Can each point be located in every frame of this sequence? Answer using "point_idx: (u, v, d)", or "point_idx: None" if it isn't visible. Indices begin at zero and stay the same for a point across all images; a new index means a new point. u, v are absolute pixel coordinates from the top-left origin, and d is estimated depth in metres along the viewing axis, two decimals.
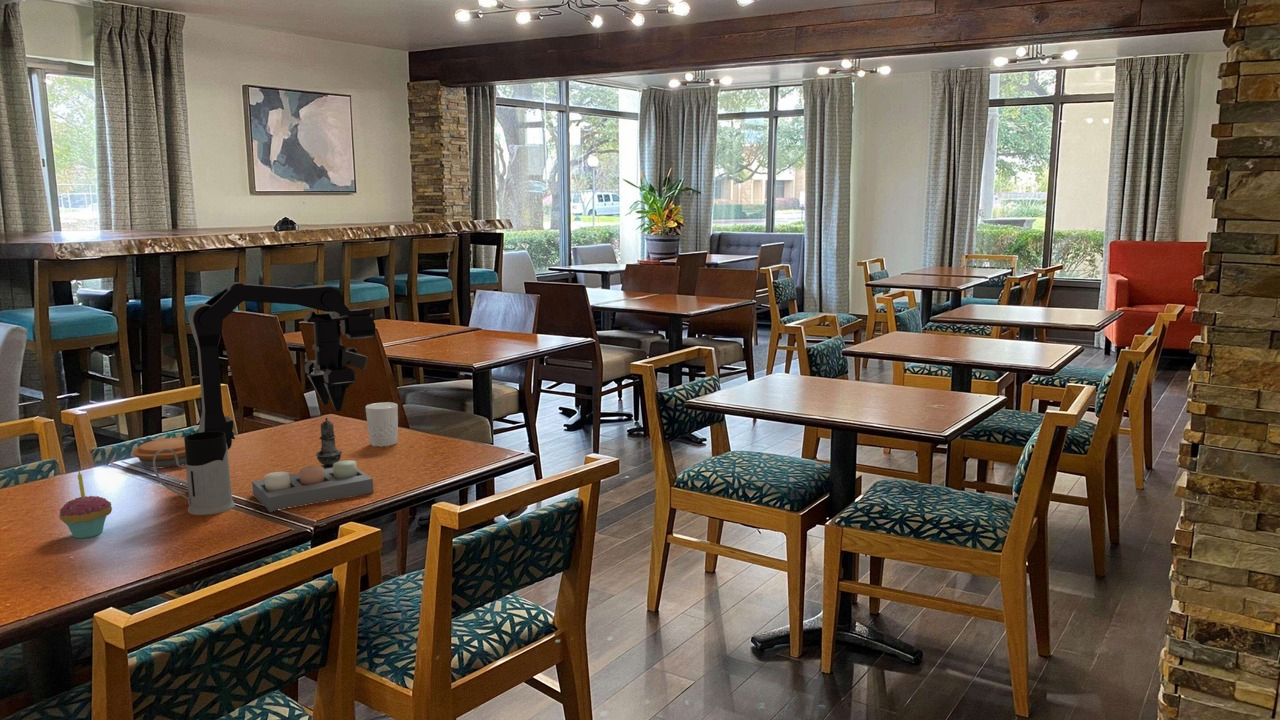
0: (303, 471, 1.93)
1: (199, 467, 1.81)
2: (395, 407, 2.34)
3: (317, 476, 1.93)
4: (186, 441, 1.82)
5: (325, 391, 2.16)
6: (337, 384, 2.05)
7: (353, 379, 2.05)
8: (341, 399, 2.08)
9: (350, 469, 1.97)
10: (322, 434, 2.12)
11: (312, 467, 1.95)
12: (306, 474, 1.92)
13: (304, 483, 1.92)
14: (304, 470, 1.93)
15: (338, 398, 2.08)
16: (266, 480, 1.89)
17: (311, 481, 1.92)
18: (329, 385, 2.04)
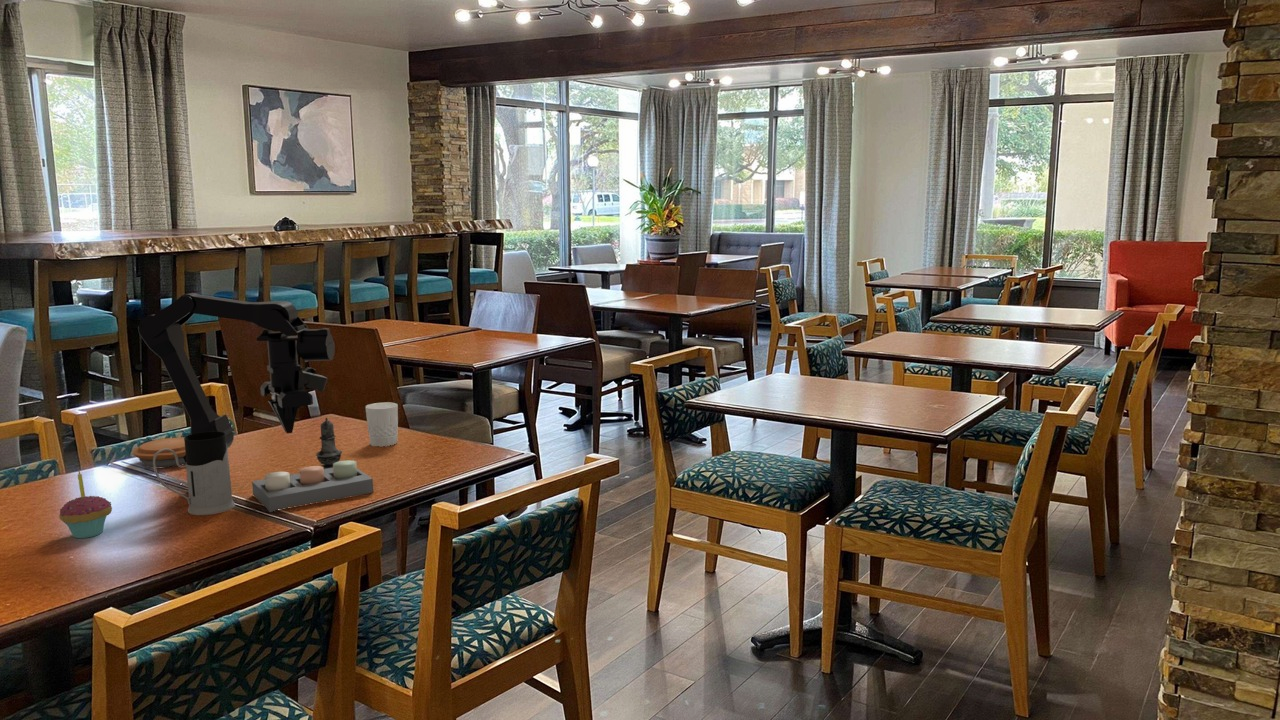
0: (303, 471, 1.93)
1: (199, 467, 1.81)
2: (395, 407, 2.34)
3: (317, 476, 1.93)
4: (186, 441, 1.82)
5: None
6: None
7: (309, 403, 1.91)
8: (292, 420, 1.97)
9: (350, 469, 1.97)
10: (322, 434, 2.12)
11: (312, 467, 1.95)
12: (306, 474, 1.92)
13: (304, 483, 1.92)
14: (304, 470, 1.93)
15: (289, 419, 1.97)
16: (266, 480, 1.89)
17: (311, 481, 1.92)
18: (278, 406, 1.93)
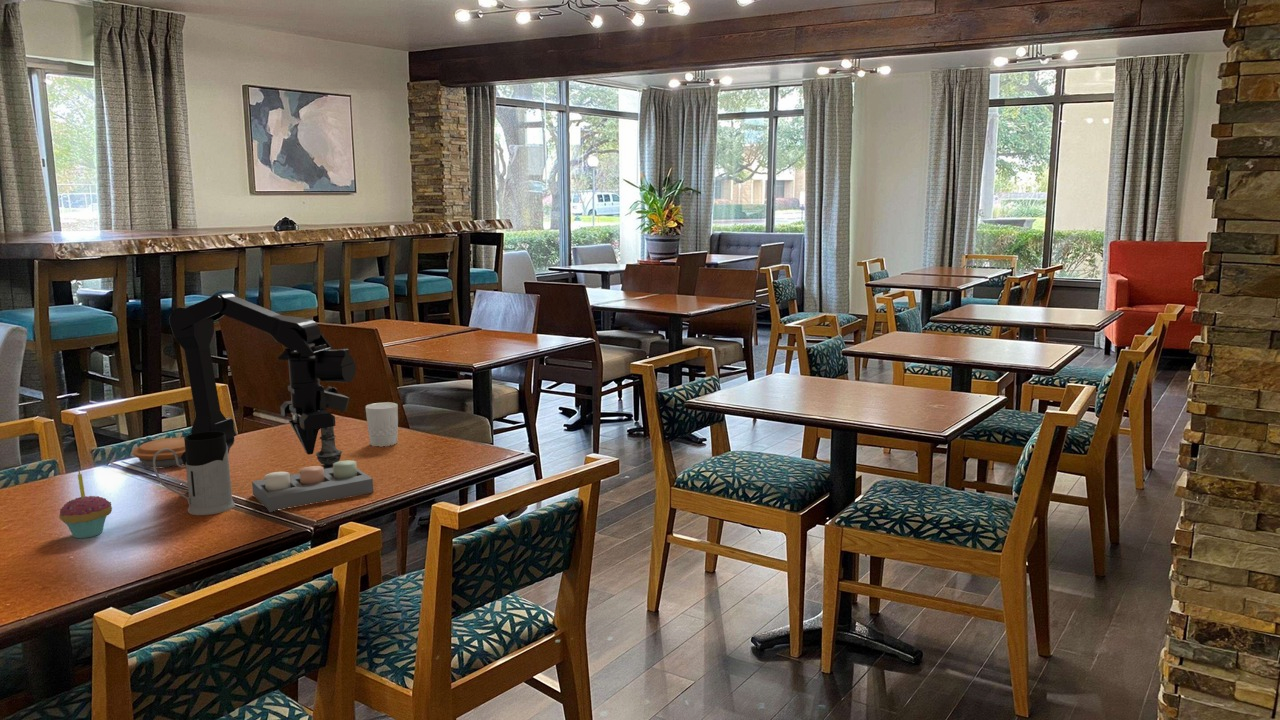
0: (303, 471, 1.93)
1: (199, 467, 1.81)
2: (395, 407, 2.34)
3: (317, 476, 1.93)
4: (186, 441, 1.82)
5: None
6: None
7: (332, 424, 1.86)
8: (313, 441, 1.93)
9: (350, 469, 1.97)
10: (322, 434, 2.12)
11: (312, 467, 1.95)
12: (306, 474, 1.92)
13: (304, 483, 1.92)
14: (304, 470, 1.93)
15: (310, 440, 1.92)
16: (266, 480, 1.89)
17: (311, 481, 1.92)
18: (299, 427, 1.88)
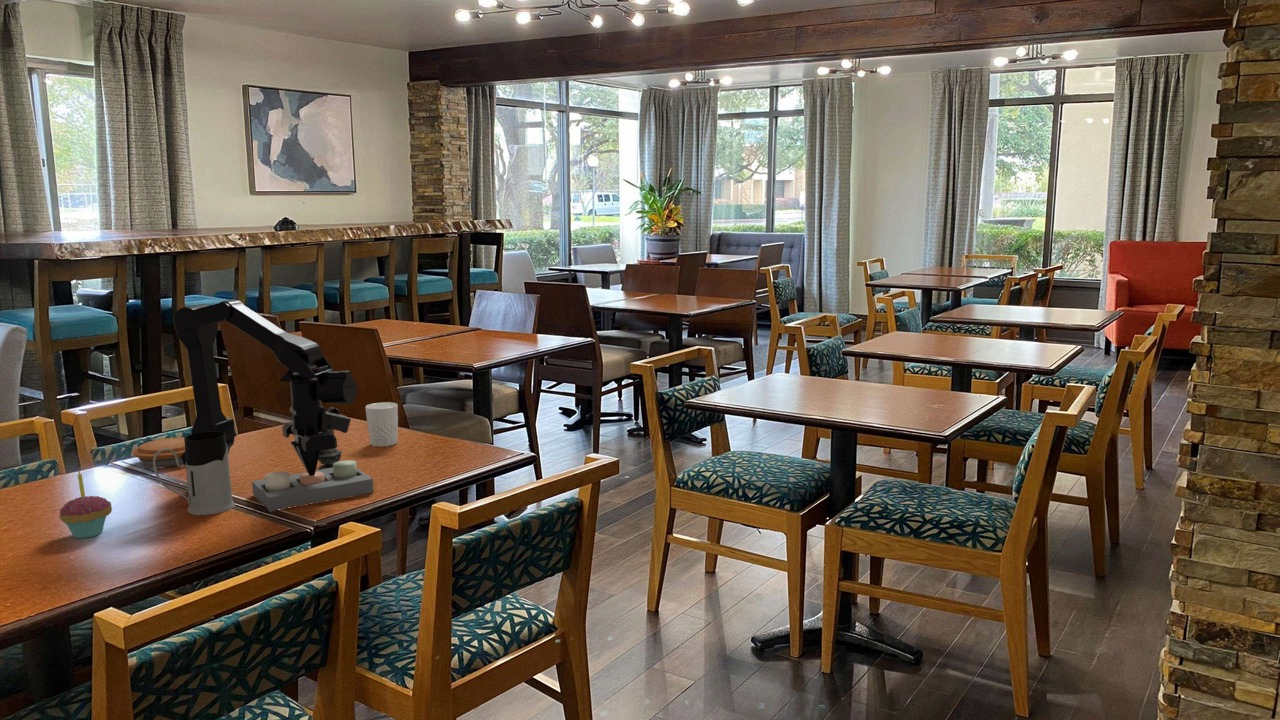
0: (304, 477, 1.93)
1: (199, 467, 1.81)
2: (395, 407, 2.34)
3: (318, 482, 1.93)
4: (186, 441, 1.82)
5: None
6: None
7: (334, 446, 1.87)
8: (314, 462, 1.94)
9: (350, 469, 1.97)
10: None
11: None
12: (306, 480, 1.92)
13: None
14: (304, 476, 1.93)
15: (312, 462, 1.93)
16: (266, 480, 1.89)
17: None
18: (301, 449, 1.89)
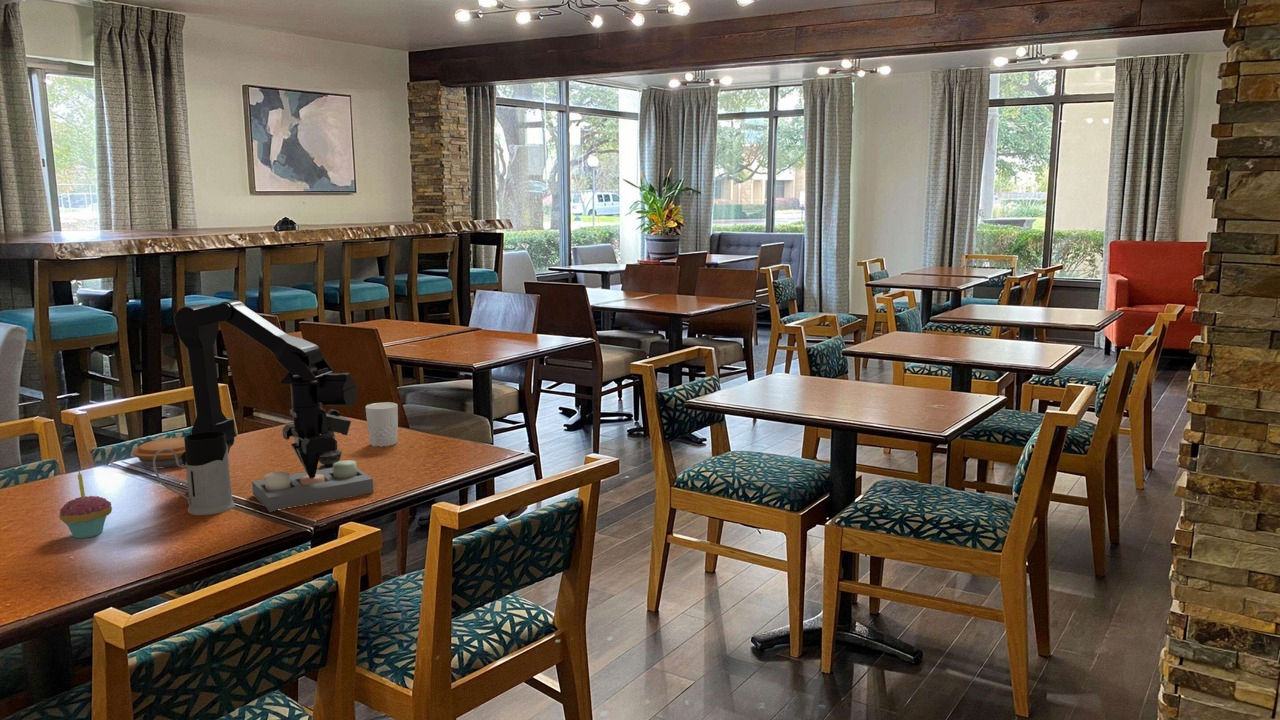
0: (304, 479, 1.93)
1: (199, 467, 1.81)
2: (395, 407, 2.34)
3: None
4: (186, 441, 1.82)
5: None
6: None
7: (334, 448, 1.87)
8: (315, 464, 1.94)
9: (350, 469, 1.97)
10: (322, 434, 2.12)
11: None
12: (306, 482, 1.92)
13: None
14: (305, 478, 1.94)
15: (312, 464, 1.93)
16: (266, 480, 1.89)
17: None
18: (301, 451, 1.89)
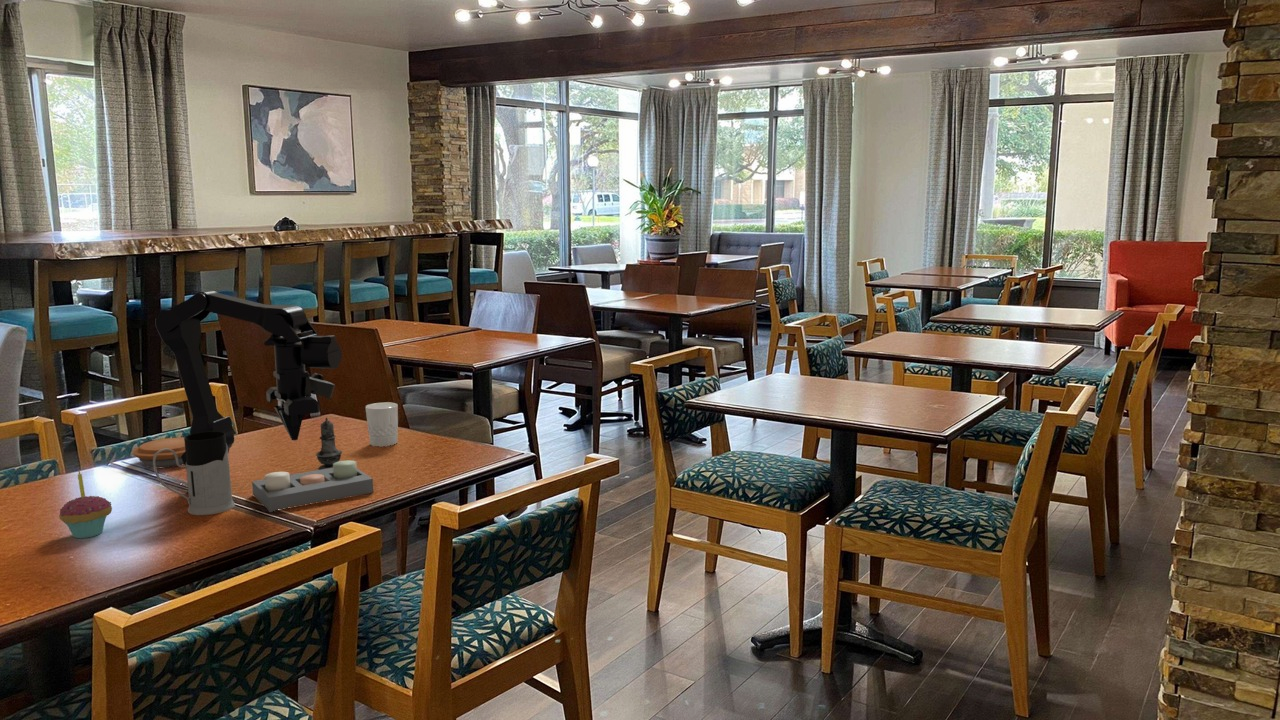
0: (304, 479, 1.93)
1: (199, 467, 1.81)
2: (395, 407, 2.34)
3: None
4: (186, 441, 1.82)
5: None
6: None
7: (316, 410, 1.87)
8: (297, 427, 1.94)
9: (350, 469, 1.97)
10: (322, 434, 2.12)
11: (313, 475, 1.96)
12: (306, 482, 1.92)
13: None
14: (305, 478, 1.94)
15: (295, 426, 1.93)
16: (266, 480, 1.89)
17: None
18: (284, 413, 1.89)
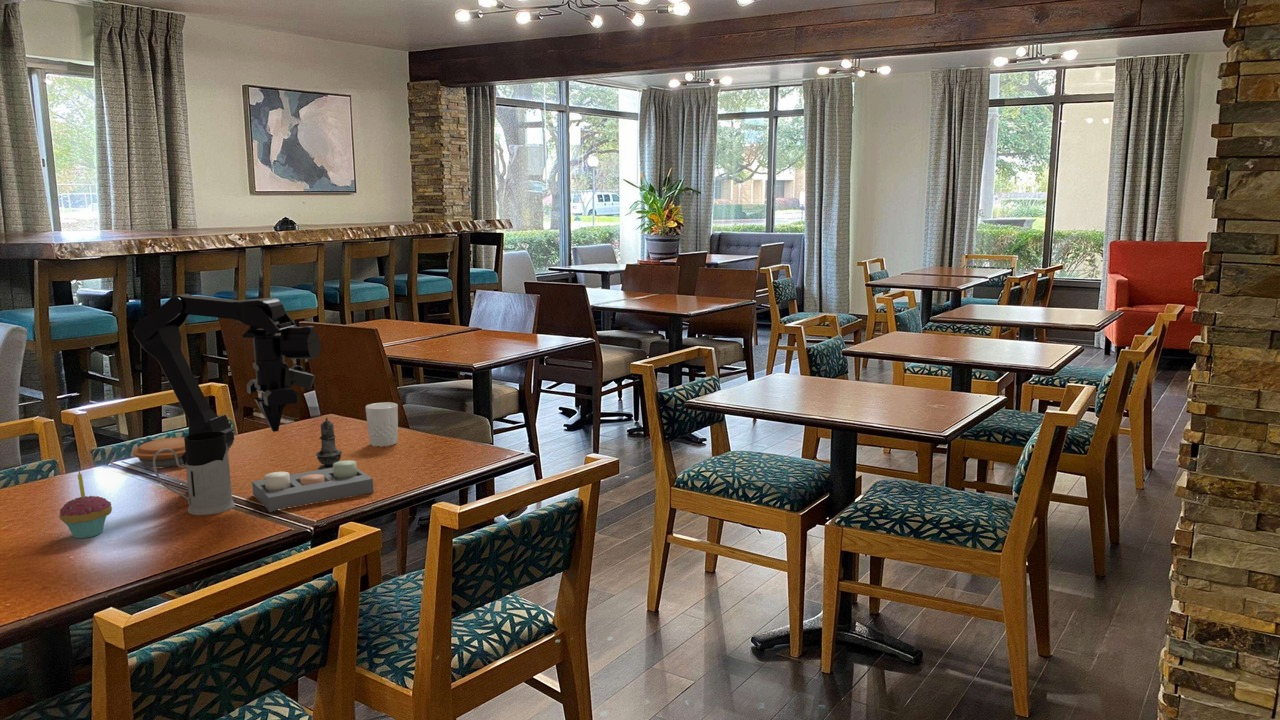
0: (304, 479, 1.93)
1: (199, 467, 1.81)
2: (395, 407, 2.34)
3: None
4: (186, 441, 1.82)
5: None
6: None
7: (296, 401, 1.88)
8: (278, 418, 1.95)
9: (350, 469, 1.97)
10: (322, 434, 2.12)
11: (313, 475, 1.96)
12: (306, 482, 1.92)
13: None
14: (305, 478, 1.94)
15: (275, 417, 1.94)
16: (266, 480, 1.89)
17: None
18: (264, 404, 1.90)
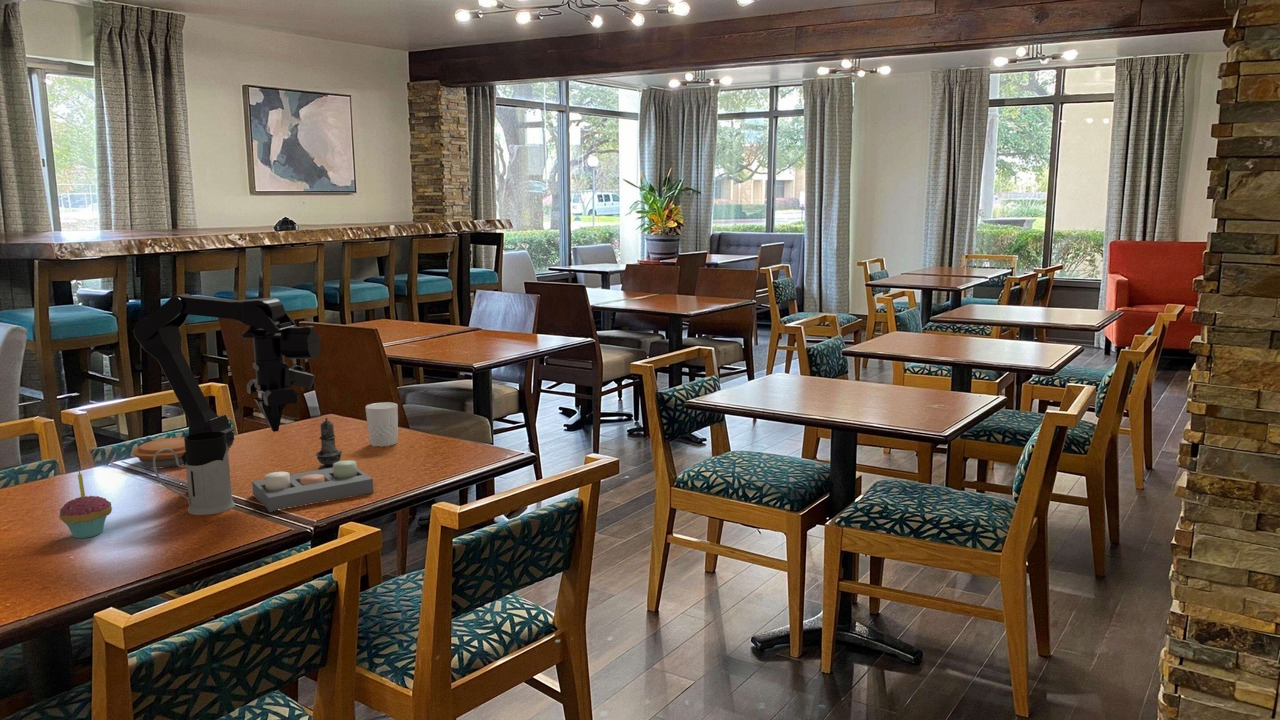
0: (304, 479, 1.93)
1: (199, 467, 1.81)
2: (395, 407, 2.34)
3: None
4: (186, 441, 1.82)
5: None
6: None
7: (296, 401, 1.88)
8: (278, 418, 1.95)
9: (350, 469, 1.97)
10: (322, 434, 2.12)
11: (313, 475, 1.96)
12: (306, 482, 1.92)
13: None
14: (305, 478, 1.94)
15: (275, 417, 1.94)
16: (266, 480, 1.89)
17: None
18: (264, 404, 1.90)
